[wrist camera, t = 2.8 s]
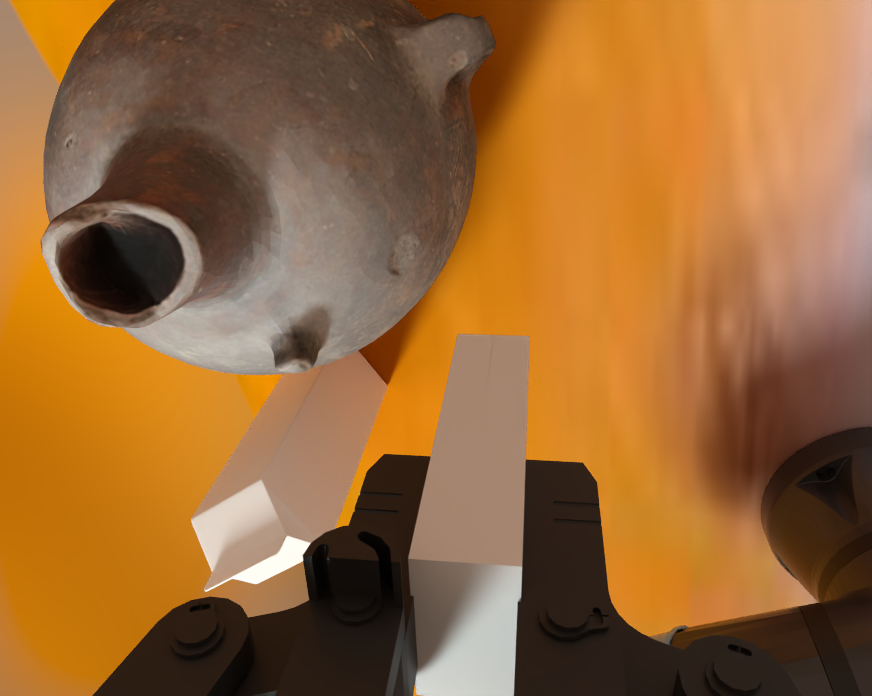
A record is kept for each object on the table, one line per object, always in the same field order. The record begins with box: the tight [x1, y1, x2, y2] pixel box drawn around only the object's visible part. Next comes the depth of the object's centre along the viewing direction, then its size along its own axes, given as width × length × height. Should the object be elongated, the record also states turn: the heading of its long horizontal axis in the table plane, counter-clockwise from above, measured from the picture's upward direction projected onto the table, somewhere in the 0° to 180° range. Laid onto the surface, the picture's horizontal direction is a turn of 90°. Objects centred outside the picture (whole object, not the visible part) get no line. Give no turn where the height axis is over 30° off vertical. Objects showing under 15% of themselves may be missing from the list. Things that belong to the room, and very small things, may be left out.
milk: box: [191, 351, 387, 592], centre depth 50 cm, size 6×6×22 cm
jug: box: [41, 0, 496, 375], centre depth 37 cm, size 24×21×30 cm
